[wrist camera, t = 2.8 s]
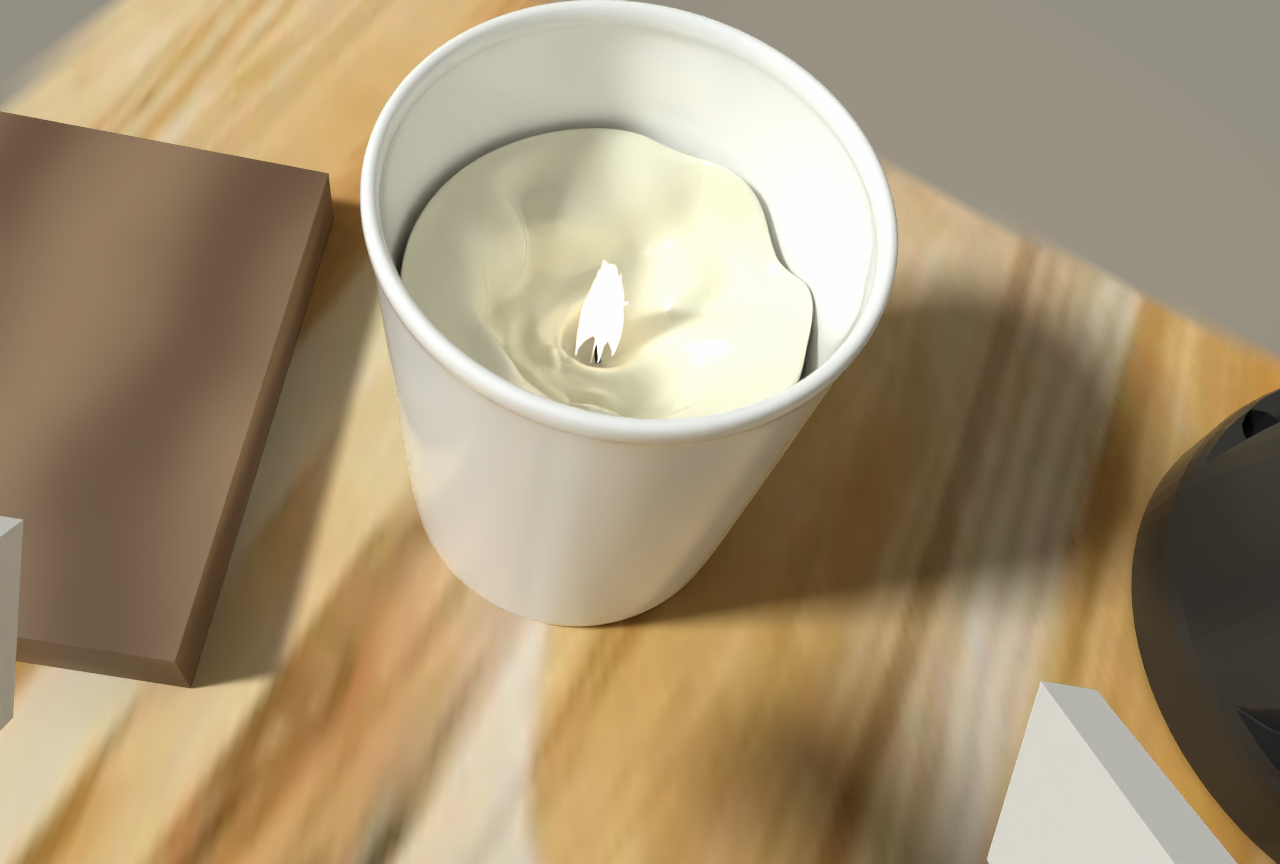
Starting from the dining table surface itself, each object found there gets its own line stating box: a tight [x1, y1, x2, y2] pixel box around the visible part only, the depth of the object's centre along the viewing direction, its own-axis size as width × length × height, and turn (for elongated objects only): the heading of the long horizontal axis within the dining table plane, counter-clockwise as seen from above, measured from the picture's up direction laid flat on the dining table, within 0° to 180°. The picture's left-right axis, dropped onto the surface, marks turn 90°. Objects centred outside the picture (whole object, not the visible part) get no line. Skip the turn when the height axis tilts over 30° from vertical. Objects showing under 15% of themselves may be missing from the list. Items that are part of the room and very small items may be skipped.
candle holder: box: [360, 0, 898, 626], centre depth 27 cm, size 10×10×12 cm
